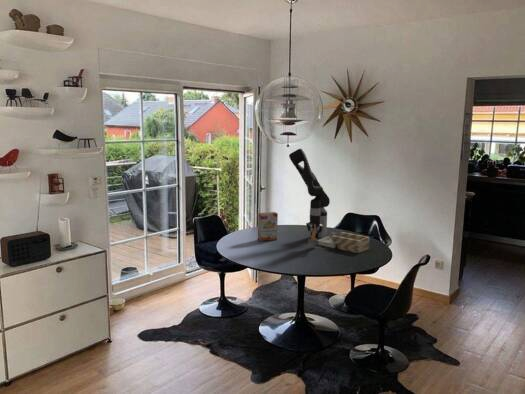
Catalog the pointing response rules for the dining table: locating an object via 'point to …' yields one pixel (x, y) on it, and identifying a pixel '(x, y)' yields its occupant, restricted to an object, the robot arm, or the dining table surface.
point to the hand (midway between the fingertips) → (314, 237)
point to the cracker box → (267, 226)
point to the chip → (332, 234)
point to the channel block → (351, 242)
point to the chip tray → (326, 242)
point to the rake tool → (313, 238)
